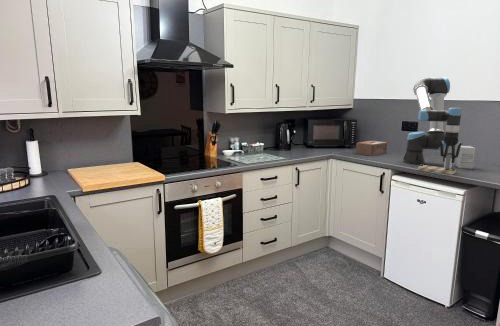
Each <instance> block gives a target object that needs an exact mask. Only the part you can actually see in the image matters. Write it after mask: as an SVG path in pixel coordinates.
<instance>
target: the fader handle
mask: <svg viewBox="0 0 500 326" xmlns="http://www.w3.org/2000/svg"><path fill="white" fill-rule="evenodd" d="M446 154H447V156H446V164H445V167H444V168H445V169H447V170H450V169H451V168H449V167H450V159H451V158H452V151H448V152H447V153H446Z"/></svg>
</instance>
